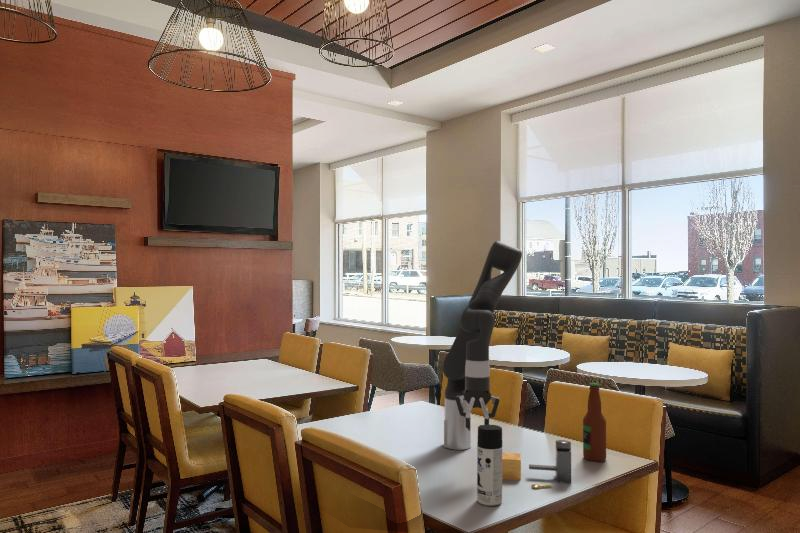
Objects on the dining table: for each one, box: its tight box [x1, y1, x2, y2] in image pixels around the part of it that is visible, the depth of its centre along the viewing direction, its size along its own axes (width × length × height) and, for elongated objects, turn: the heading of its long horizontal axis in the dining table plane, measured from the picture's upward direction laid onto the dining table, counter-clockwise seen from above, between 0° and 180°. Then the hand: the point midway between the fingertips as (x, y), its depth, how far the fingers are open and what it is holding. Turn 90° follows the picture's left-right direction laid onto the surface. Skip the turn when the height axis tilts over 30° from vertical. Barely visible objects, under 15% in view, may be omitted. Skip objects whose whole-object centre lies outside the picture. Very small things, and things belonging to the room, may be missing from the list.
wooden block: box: [502, 452, 522, 481], centre depth 176 cm, size 7×6×6 cm
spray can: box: [476, 424, 503, 507], centre depth 155 cm, size 7×7×20 cm
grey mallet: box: [528, 439, 572, 484], centre depth 173 cm, size 12×6×11 cm, turn 79°
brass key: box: [531, 483, 553, 490], centre depth 166 cm, size 6×2×1 cm, turn 99°
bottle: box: [582, 382, 607, 463], centre depth 192 cm, size 7×7×25 cm
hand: (477, 429), depth 178 cm, fingers open, 4 cm apart
